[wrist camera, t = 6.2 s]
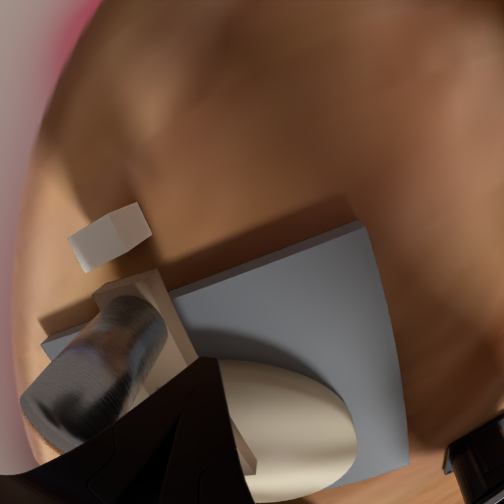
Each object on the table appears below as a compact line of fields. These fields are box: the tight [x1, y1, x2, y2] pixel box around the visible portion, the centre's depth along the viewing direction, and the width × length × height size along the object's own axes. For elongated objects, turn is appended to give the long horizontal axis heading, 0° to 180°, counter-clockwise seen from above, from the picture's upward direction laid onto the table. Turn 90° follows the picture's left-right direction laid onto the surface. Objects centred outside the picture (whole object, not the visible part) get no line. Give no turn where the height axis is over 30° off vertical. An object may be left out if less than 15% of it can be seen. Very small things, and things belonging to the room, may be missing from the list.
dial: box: [20, 268, 357, 503], centre depth 10 cm, size 18×13×8 cm
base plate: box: [41, 202, 410, 491], centre depth 14 cm, size 23×19×2 cm
